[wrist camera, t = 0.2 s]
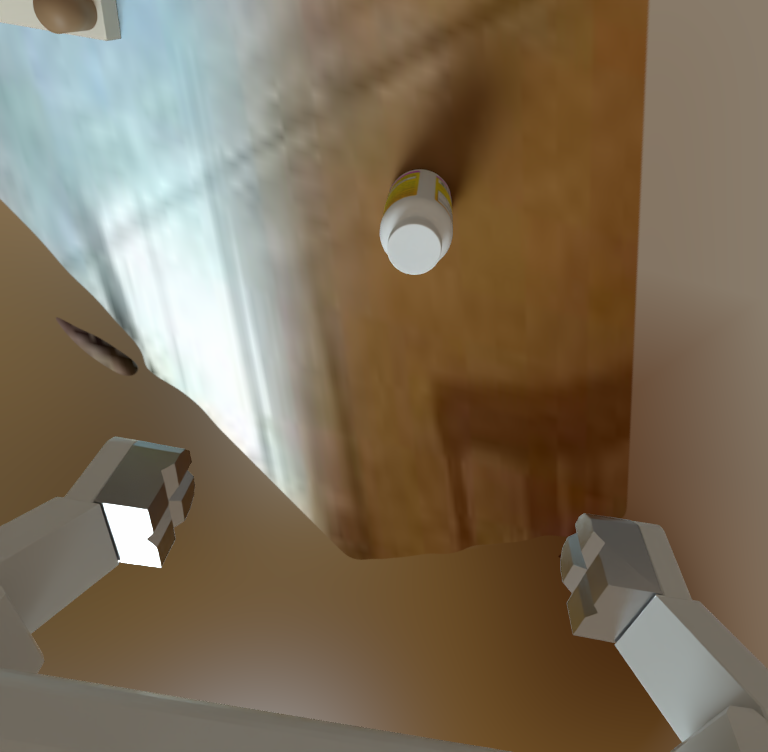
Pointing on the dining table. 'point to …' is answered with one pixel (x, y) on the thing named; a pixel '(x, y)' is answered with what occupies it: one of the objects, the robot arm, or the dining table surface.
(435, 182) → the supplement bottle
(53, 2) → the stool seat
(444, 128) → the dining table surface
